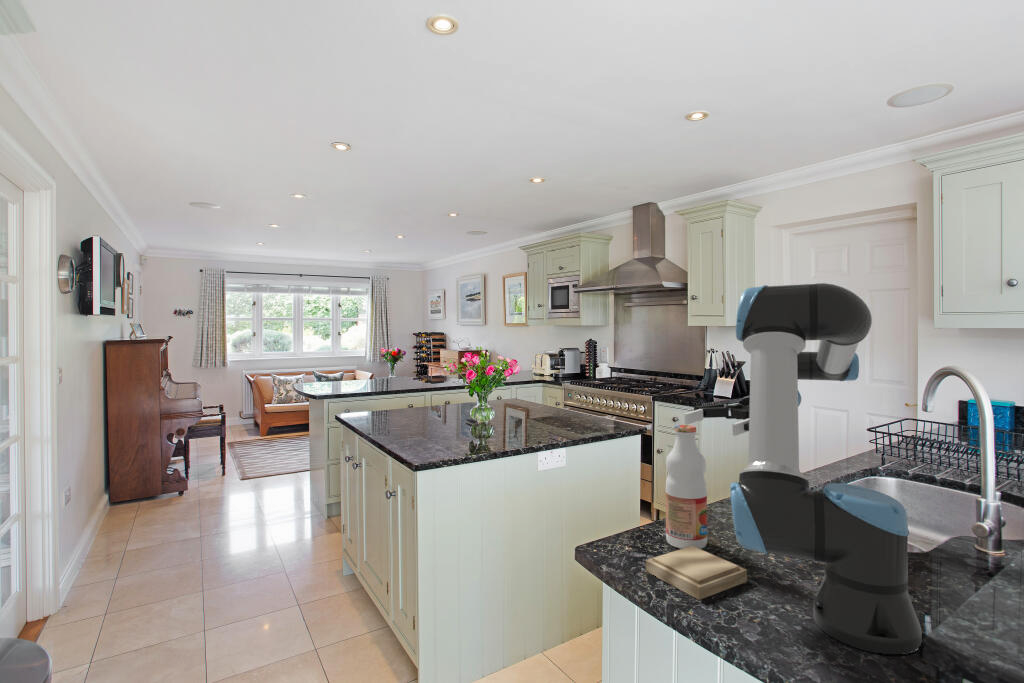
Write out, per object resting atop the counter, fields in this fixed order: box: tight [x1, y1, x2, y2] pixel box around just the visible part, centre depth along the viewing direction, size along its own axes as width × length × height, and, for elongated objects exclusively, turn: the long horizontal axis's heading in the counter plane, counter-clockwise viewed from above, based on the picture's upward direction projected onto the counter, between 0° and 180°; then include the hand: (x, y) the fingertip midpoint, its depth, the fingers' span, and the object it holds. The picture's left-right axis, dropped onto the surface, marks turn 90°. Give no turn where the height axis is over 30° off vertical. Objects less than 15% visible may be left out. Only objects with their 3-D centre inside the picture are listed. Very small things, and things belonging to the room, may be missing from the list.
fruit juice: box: [664, 424, 708, 550], centre depth 125 cm, size 9×9×28 cm
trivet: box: [645, 546, 748, 601], centre depth 108 cm, size 14×14×3 cm
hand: (708, 424), depth 128 cm, fingers open, 13 cm apart
